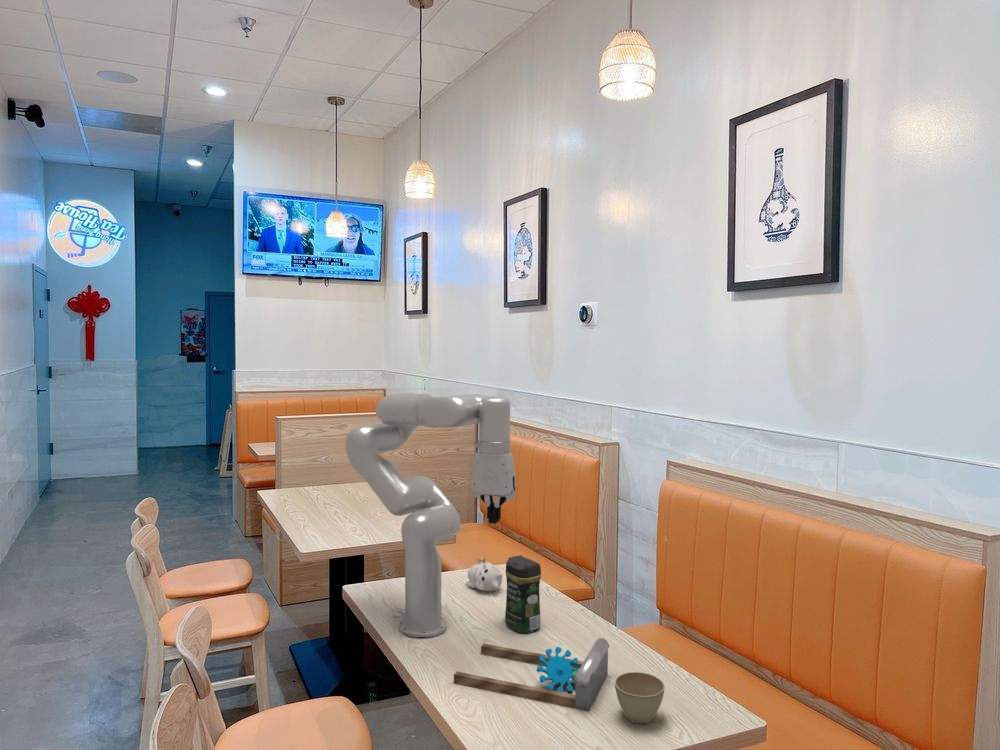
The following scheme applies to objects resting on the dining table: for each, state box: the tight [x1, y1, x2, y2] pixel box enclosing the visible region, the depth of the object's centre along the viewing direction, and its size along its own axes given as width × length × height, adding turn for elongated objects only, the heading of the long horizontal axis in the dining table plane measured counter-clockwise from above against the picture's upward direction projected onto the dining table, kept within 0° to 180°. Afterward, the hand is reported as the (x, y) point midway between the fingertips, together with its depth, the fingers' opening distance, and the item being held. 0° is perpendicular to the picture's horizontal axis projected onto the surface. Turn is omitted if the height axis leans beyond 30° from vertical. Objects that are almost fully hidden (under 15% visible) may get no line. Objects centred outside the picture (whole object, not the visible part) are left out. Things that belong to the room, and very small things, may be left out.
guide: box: [453, 643, 584, 709], centre depth 160 cm, size 28×17×2 cm, turn 69°
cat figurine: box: [467, 557, 503, 592], centre depth 215 cm, size 10×8×15 cm
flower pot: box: [614, 671, 666, 724], centre depth 143 cm, size 10×10×7 cm
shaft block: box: [574, 637, 610, 712], centre depth 154 cm, size 3×18×8 cm, turn 158°
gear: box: [536, 646, 580, 693], centre depth 157 cm, size 11×6×10 cm
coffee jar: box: [504, 554, 542, 634], centre depth 187 cm, size 10×8×19 cm
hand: (493, 522), depth 172 cm, fingers closed
